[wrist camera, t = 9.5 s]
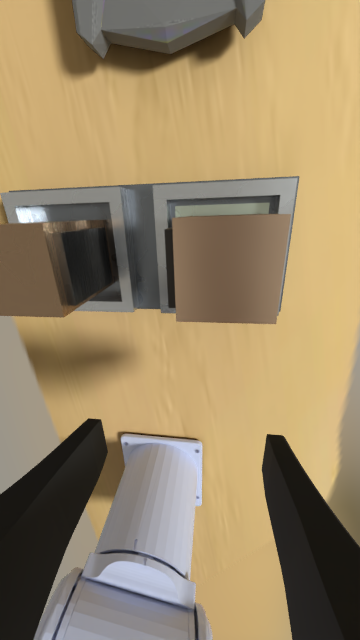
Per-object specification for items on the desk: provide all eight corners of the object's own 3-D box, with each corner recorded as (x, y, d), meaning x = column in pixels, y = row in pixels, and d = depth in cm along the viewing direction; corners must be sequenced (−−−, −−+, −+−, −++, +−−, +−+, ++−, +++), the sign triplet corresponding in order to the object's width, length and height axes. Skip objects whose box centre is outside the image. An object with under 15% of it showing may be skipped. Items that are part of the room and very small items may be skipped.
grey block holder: (275, 303, 17) (313, 363, 10) (52, 299, 19) (-36, 346, 13) (291, 179, 14) (360, 148, 7) (26, 192, 16) (-108, 178, 10)
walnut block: (261, 213, 14) (290, 213, 8) (254, 284, 15) (275, 324, 10) (182, 216, 14) (160, 218, 9) (184, 283, 16) (166, 321, 10)
